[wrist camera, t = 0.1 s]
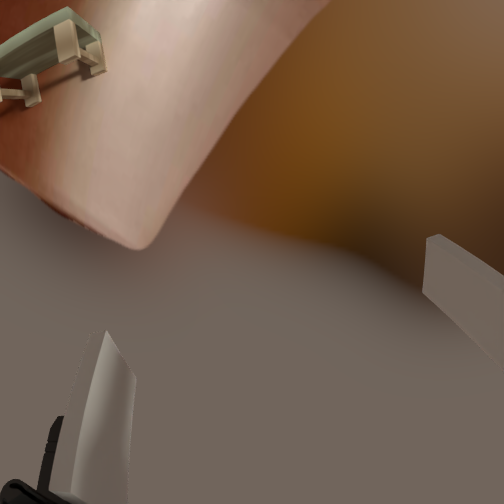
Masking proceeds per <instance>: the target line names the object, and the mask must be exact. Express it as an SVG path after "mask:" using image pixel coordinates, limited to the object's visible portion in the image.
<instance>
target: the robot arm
mask: <svg viewBox="0 0 504 504" xmlns="http://www.w3.org/2000/svg"><path fill="white" fill-rule="evenodd" d="M423 282H424V283H423V291H422V293H424V294H425V295H426V296H427V297H428V298H429V299H430V300H431V301H433V303H435V304H436V305H437V306H438V307H439V308H440V309H441V310H442V311H443V312H444V313H445V314H446V315H447V316H449V317H450V318H451V319H452V320H453V321H454V322H455V323H456V324H457V325H458V326H459V327H460V328H461V329H462V330H463V331H464V332H465V333H466V334H467V335H468V336H469V337H470V338H471V339H472V340H473V341H474V342H475V343H476V344H477V345H478V346H479V347H480V348H481V349H482V350H483V351H484V352H485V353H486V354H487V355H488V356H489V357H490V358H491V359H492V360H493V361H494V362H495V363H496V364H497V366H498V367H499V368H500V369H501V370H502V371H503V372H504V276H503V275H502V274H500V273H499V272H497V271H496V270H494V269H493V268H491V267H490V266H489V265H487V264H486V263H484V262H483V261H481V260H480V259H478V258H477V257H475V256H474V255H472V254H471V253H469V252H468V251H466V250H464V249H463V248H461V247H460V246H458V245H457V244H455V243H453V242H452V241H450V240H449V239H447V238H445V237H444V236H442V235H440V234H438V235H435V236H432V237H429V238H427V242H426V258H425V270H424V281H423ZM135 387H136V377H135V375H134V374H133V372H132V371H131V370H130V368H129V366H128V365H127V363H126V361H125V360H124V358H123V357H122V355H121V353H120V352H119V350H118V349H117V347H116V345H115V344H114V342H113V340H112V339H111V337H110V335H109V333H108V332H107V330H104V331H100V332H95V333H91V334H90V335H89V338H88V341H87V344H86V347H85V350H84V352H83V356H82V358H81V362H80V365H79V367H78V371H77V374H76V377H75V380H74V384H73V387H72V390H71V393H70V397H69V401H68V404H67V408H66V412H65V415H64V416H58V417H57V419H56V420H55V422H54V423H53V425H52V427H51V428H50V432H49V436H48V440H47V441H48V443H47V444H46V448H45V452H46V453H45V454H44V456H43V461H42V466H41V471H40V475H39V481H38V486H37V490H35V489H33V488H32V487H30V486H29V485H27V484H26V483H24V482H23V481H21V480H19V479H13V480H10V481H8V482H7V483H6V484H5V485H4V486H3V488H2V491H1V493H0V504H127V501H128V469H129V452H130V436H131V426H132V415H133V405H134V396H135Z"/></svg>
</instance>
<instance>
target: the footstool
mask: <svg viewBox="0 0 504 504" xmlns="http://www.w3.org/2000/svg"><path fill="white" fill-rule="evenodd" d="M85 50H86V51H85ZM75 60H80V61H82V62H84V63H86V64H88V65H89V66H90V71H91V75H93V76H97V75H100V74H102V73H105V72H107V67H106V62H105V57H104V53H103V48H102V42H101V37H100V33H99V32H98V31H96V30H95V29H94V28H93V27H92V26H91V25H89V24H88V23H87V22H86V21H85V20H83V19H82V18H81V17H80V16H79V15H77V14H76V13H75V12H74V11H73V10H71V9H70V8H69V7H68V6H67V7H65V8H63V9H61V10H59V11H57V12H55V13H53V14H51V15H50V16H48V17H46V18H44V19H42V20H40V21H38V22H37V23H35V24H33V25H32V26H30V27H28V28H26V29H25V30H23V31H21V32H20V33H18V34H17V35H15V36H14V37H12V38H10V39H9V40H7V41H6V42H4V43H3V44H1V45H0V77H7V78H15V79H21V83H22V89H23V90H15V89H0V102H2V99H25V104H26V107H33V106H35V105H37V104H38V103H40V102H42V101H41V96H40V91H39V86H38V81H37V74H38V73H40V72H42V71H44V70H46V69H48V68H49V67H51V66H53V65H55V64H57V63H61V64H64V65H67V64H69V63H71V62H73V61H75Z"/></svg>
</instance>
